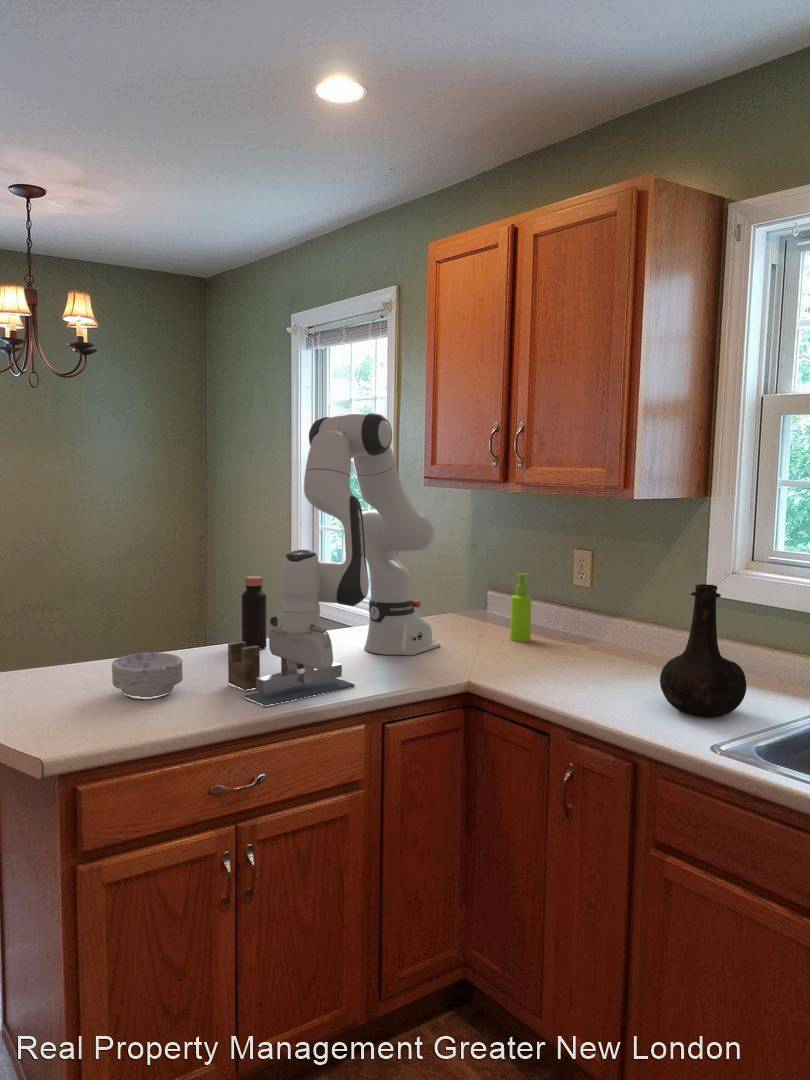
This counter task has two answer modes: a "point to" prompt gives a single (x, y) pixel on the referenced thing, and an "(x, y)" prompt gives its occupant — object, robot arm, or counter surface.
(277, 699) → the mat
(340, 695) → the counter surface
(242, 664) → the cradles
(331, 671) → the rail
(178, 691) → the counter surface
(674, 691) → the glass bottle
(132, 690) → the paper bowls
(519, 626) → the soap dispenser
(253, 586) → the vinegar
